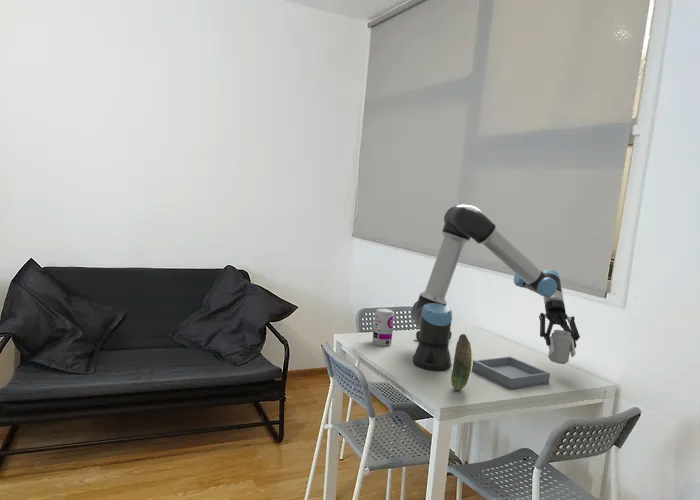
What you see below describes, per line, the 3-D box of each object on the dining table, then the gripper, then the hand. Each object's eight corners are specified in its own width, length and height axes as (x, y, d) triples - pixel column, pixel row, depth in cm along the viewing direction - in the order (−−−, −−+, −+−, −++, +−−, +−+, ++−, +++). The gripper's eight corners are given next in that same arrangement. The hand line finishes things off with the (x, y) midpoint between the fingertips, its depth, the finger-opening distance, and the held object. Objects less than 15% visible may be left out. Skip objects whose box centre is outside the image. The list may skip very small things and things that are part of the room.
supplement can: (394, 343, 229) (397, 310, 227) (385, 347, 222) (388, 313, 220) (378, 339, 233) (381, 307, 232) (369, 343, 226) (372, 309, 225)
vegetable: (457, 385, 184) (463, 331, 182) (472, 391, 180) (478, 335, 177) (447, 388, 180) (453, 332, 178) (461, 395, 176) (468, 337, 173)
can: (566, 366, 198) (571, 335, 197) (545, 360, 202) (550, 331, 201) (569, 361, 205) (574, 332, 203) (549, 356, 208) (554, 327, 207)
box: (510, 389, 185) (511, 378, 184) (471, 370, 202) (472, 360, 202) (548, 383, 195) (550, 373, 194) (509, 365, 212) (510, 356, 212)
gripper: (575, 311, 216) (585, 361, 202) (526, 306, 217) (533, 355, 203) (582, 301, 210) (593, 352, 196) (532, 296, 211) (539, 346, 197)
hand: (562, 354), depth 199 cm, fingers closed on can, 7 cm apart
